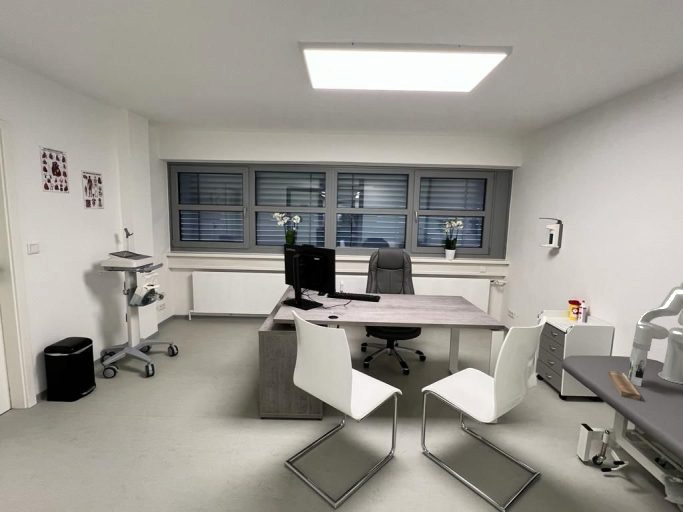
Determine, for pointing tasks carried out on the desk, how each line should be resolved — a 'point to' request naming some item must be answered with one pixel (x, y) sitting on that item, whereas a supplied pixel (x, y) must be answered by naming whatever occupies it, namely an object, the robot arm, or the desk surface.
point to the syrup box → (632, 375)
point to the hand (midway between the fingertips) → (635, 374)
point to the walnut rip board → (624, 385)
